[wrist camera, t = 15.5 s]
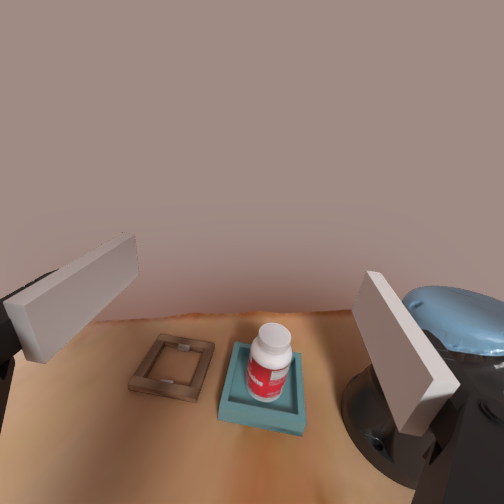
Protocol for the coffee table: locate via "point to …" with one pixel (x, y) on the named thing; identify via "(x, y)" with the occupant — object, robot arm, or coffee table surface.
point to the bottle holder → (168, 386)
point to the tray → (256, 412)
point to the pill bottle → (269, 362)
